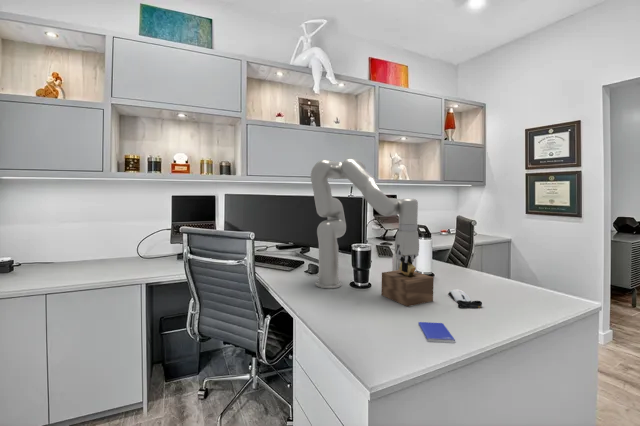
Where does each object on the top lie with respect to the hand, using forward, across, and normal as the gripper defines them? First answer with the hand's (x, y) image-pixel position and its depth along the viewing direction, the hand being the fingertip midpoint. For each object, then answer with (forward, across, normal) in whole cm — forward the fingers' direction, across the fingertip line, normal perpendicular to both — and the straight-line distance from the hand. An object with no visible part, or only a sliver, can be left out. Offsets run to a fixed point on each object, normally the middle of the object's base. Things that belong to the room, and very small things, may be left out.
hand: (406, 271), depth 134 cm
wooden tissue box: (+12, 0, 0) cm, 12 cm away
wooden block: (0, 0, +3) cm, 3 cm away
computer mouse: (+12, -18, +13) cm, 25 cm away
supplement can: (+12, -14, -19) cm, 26 cm away
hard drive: (+12, +16, +30) cm, 36 cm away
